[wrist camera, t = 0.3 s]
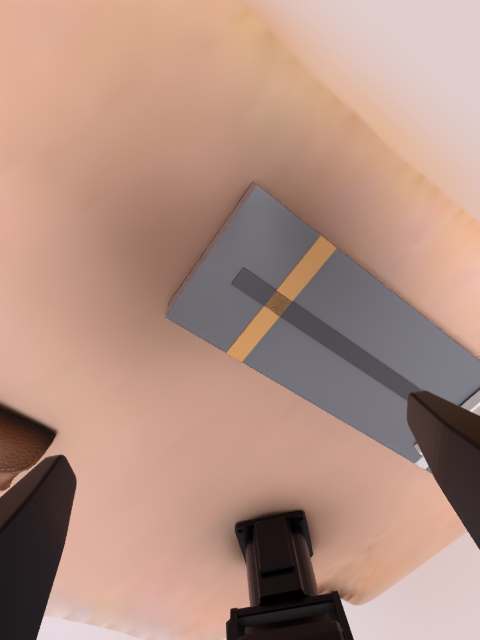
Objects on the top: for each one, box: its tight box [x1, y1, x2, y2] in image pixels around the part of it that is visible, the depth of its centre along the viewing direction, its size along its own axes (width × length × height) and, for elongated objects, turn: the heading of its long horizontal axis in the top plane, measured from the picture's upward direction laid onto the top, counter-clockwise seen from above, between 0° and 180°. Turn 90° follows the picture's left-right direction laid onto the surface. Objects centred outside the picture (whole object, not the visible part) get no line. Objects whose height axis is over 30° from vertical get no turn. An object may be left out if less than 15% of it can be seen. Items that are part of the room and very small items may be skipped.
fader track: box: [165, 182, 480, 473], centre depth 25 cm, size 28×9×2 cm, turn 54°
